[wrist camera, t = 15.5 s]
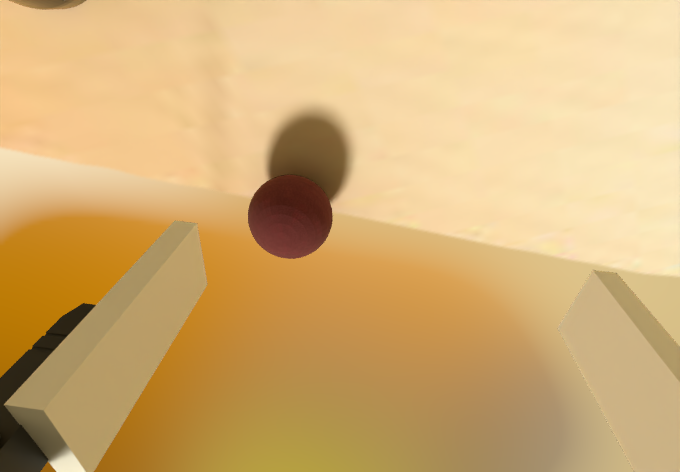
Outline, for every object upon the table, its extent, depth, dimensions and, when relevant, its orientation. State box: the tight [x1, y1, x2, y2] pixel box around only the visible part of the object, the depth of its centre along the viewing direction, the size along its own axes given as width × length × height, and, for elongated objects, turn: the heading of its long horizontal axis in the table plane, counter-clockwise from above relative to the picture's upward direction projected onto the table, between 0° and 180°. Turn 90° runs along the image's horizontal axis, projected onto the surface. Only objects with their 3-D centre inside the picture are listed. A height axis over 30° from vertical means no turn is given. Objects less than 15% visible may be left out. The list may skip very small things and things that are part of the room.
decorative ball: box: [248, 175, 332, 259], centre depth 43 cm, size 10×10×10 cm
